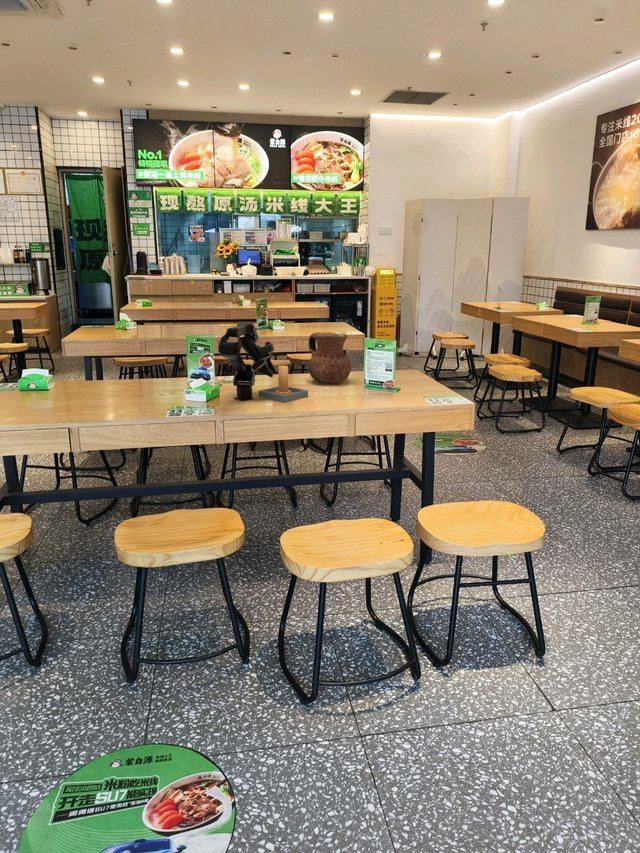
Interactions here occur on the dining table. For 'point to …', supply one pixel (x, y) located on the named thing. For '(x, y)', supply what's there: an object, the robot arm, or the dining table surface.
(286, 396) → the grey square tray
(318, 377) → the jug
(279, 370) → the peach joystick knob
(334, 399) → the dining table surface
